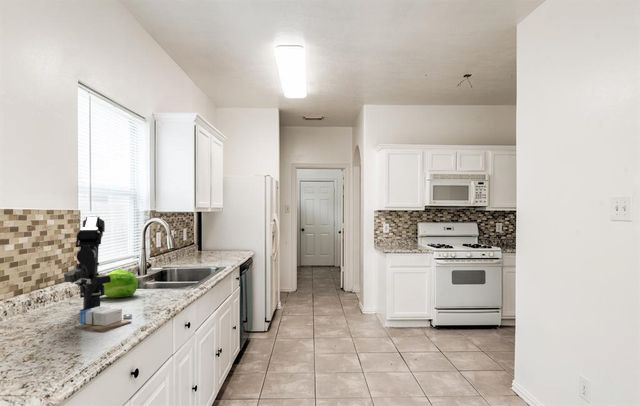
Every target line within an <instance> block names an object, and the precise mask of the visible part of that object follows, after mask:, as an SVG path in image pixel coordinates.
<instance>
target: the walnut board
mask: <svg viewBox="0 0 640 406" xmlns="http://www.w3.org/2000/svg"><path fill="white" fill-rule="evenodd" d="M131 323H132V321H131V320H127V319H122V320H121V321H118V322H115V323H112V324H109V325H106V326H102V325H91V324H81V323H80V324H79V325H74V329H80V330H85V331H91V332H97V333H103V332H108V331H110V330H113V329H117V328H119V327H122V326H126V325H129V324H131Z"/></svg>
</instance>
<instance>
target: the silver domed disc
mask: <svg viewBox="0 0 640 406" xmlns="http://www.w3.org/2000/svg"><path fill="white" fill-rule="evenodd" d="M129 319H133V314H132V313H128V314H127V313H126V314H123V315H122V320H129Z"/></svg>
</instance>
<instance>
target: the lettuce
mask: <svg viewBox="0 0 640 406" xmlns="http://www.w3.org/2000/svg"><path fill="white" fill-rule="evenodd" d="M106 275H109V276H110V277H111V282H109V283H104V284H103V285H104V295H103V296H107V297H110V298H126V297H130V296H133V295H135V293H136V291H137V289H138V287H139V281H138V278H137V277H136V275H135V274H134V273H133V272H132V271H130V270H123V269H116V270H115V269H114V270H112V271H111V272H109V273H107V274H106ZM99 293H101V292H99Z"/></svg>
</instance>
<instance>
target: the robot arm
mask: <svg viewBox="0 0 640 406" xmlns="http://www.w3.org/2000/svg"><path fill="white" fill-rule="evenodd" d="M105 227H106V224H105V220H103V219H102V218H100V216H98V215H86V216H85V219H84V220H83V221H82V227H80V229H78V230H79V231H77V232H76V240H75V248H79V251H78V252H77V254H76V260H77V261H78V263H76V265H75V268H73V269H70V270H69V271H67V272H65V273H63V277H64V282H65V283H71V284H73V283H74V284H75V285H76V286H78V287H79V295H80V296H79V298H80V299H83V300H82V301H83V306H82V308H80V309H79V312H81V311H85V310H88V309H91V308H95V307H98V306H99V307H101V297H103V296H105V295H104V285H103V284H104V283H109V282H111V277H110V276H109V275H107V274H99V272H98V269H99V266H100V263H99V246H100V245H101V244H102V238H103V237H104V232H105V231H106V229H105ZM99 292H101V293H99Z"/></svg>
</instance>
